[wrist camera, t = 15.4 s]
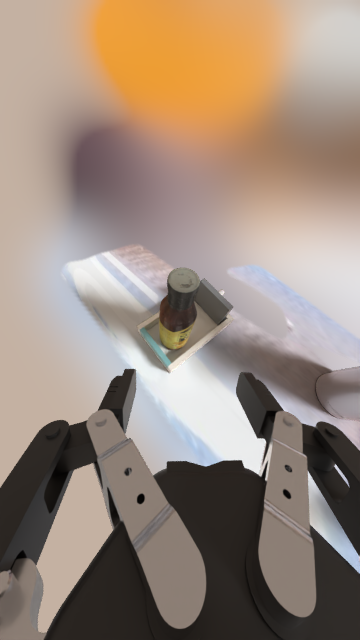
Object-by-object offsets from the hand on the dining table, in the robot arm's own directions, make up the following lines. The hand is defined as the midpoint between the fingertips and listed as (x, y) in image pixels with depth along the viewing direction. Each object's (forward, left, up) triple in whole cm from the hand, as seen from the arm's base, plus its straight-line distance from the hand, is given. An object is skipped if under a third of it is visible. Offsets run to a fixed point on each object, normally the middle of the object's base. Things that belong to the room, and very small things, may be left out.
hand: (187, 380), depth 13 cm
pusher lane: (-11, -9, -24) cm, 28 cm away
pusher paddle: (-19, -9, -23) cm, 31 cm away
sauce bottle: (-7, -9, -23) cm, 26 cm away
